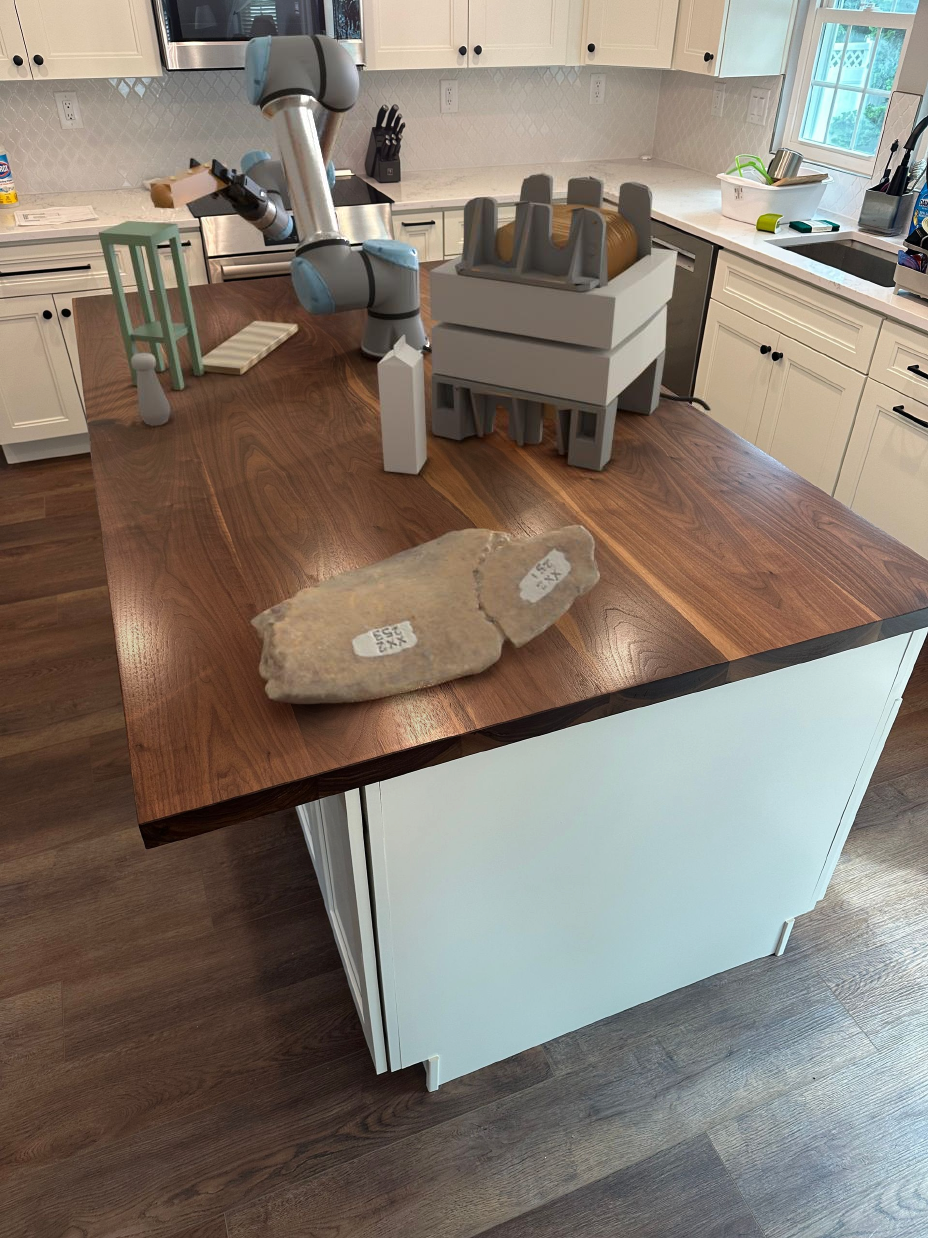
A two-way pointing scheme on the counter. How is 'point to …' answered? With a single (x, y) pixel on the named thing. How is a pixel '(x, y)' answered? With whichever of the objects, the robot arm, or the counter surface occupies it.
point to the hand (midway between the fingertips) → (202, 165)
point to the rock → (421, 615)
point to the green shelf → (154, 330)
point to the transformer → (551, 318)
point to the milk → (402, 409)
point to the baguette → (185, 186)
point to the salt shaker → (150, 391)
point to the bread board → (247, 347)
